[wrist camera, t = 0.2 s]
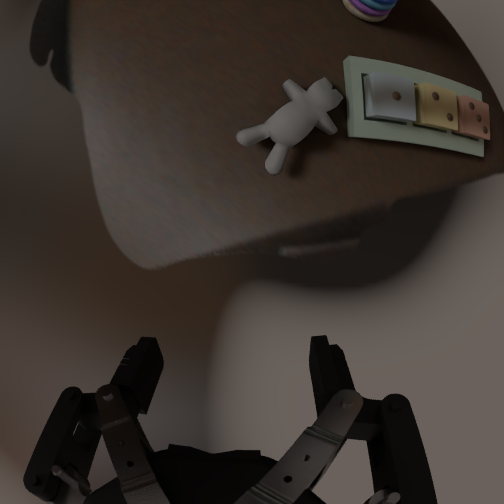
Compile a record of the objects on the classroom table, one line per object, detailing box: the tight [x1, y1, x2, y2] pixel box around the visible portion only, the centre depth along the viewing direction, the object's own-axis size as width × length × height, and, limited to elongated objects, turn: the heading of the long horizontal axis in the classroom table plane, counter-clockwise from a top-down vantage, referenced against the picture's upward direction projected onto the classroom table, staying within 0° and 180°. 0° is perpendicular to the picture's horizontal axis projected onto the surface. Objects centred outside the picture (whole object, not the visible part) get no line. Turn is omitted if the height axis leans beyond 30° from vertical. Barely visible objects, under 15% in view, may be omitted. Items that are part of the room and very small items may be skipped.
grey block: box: [363, 71, 416, 122], centre depth 28 cm, size 6×6×4 cm
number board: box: [343, 56, 484, 157], centre depth 31 cm, size 12×26×3 cm, turn 93°
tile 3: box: [452, 95, 490, 140], centre depth 28 cm, size 6×6×4 cm
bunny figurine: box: [236, 77, 344, 176], centre depth 33 cm, size 10×5×15 cm
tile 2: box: [413, 83, 458, 130], centre depth 28 cm, size 6×6×4 cm
